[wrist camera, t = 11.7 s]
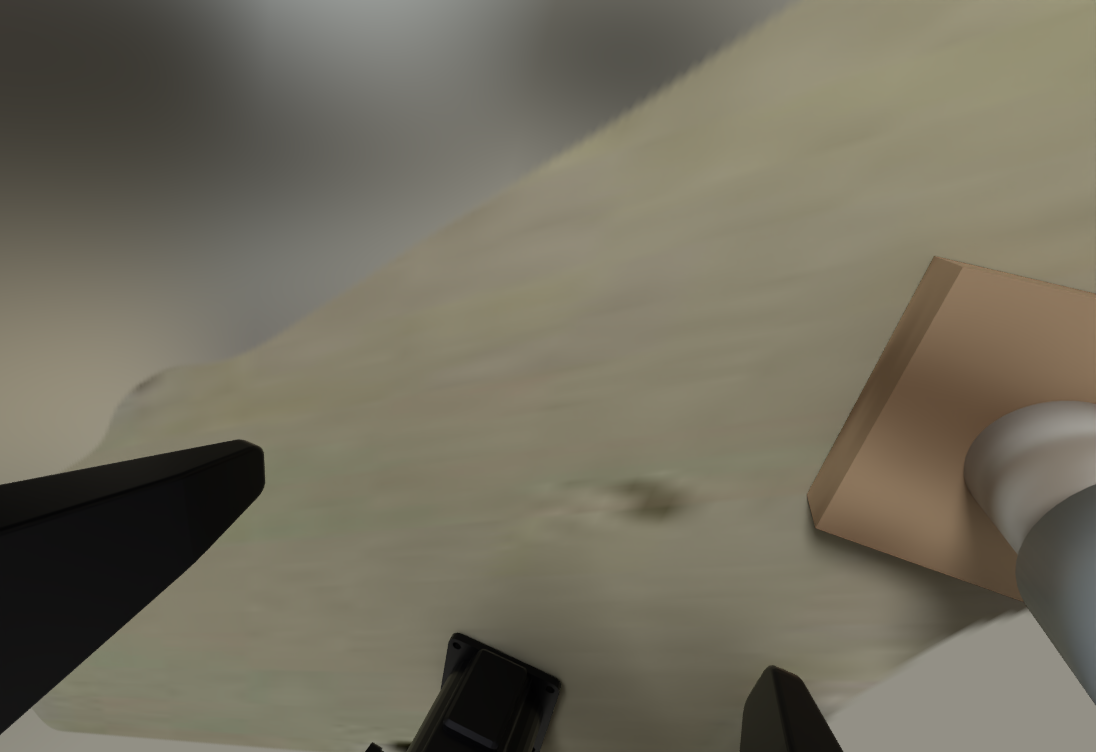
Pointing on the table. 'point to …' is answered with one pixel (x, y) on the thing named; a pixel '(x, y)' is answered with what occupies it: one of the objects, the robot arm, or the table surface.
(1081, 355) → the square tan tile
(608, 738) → the table surface
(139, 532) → the robot arm
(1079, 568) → the smooth rounded gray lump
